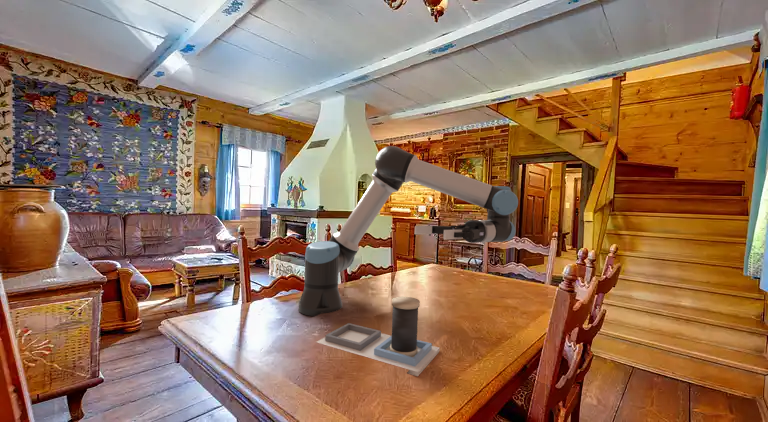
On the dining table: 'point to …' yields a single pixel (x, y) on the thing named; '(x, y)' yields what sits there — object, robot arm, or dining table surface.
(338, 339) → the grey flat tray
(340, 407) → the dining table surface
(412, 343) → the cable spool
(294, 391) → the dining table surface
